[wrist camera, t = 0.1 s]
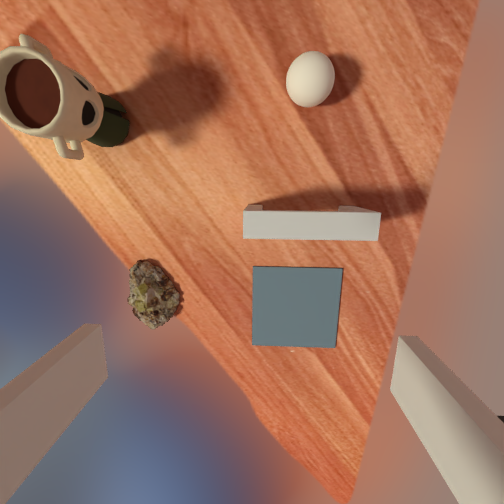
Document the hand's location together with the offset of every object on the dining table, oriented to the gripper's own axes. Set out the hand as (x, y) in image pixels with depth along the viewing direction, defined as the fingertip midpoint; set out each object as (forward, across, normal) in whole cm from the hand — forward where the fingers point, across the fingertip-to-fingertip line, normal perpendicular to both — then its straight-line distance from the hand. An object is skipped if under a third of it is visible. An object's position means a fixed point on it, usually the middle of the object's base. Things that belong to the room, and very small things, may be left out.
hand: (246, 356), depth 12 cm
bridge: (+28, +6, +3) cm, 29 cm away
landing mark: (+28, +6, -11) cm, 30 cm away
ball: (+25, +6, +19) cm, 32 cm away
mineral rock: (+28, -16, -9) cm, 34 cm away
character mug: (+28, -20, +15) cm, 38 cm away
